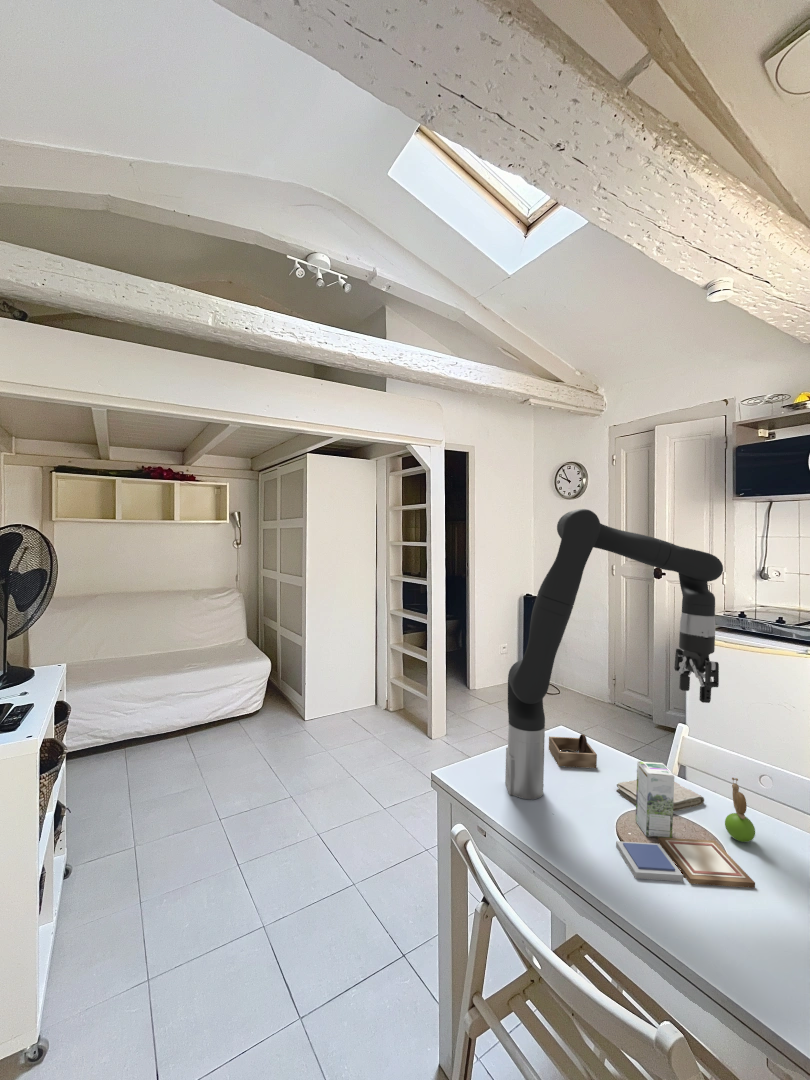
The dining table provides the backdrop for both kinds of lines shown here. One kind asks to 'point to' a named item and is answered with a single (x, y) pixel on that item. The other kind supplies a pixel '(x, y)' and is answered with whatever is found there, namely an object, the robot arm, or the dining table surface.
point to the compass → (581, 745)
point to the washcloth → (681, 795)
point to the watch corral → (571, 753)
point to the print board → (705, 863)
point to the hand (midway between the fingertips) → (694, 696)
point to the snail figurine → (739, 818)
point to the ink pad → (648, 861)
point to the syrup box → (654, 799)
